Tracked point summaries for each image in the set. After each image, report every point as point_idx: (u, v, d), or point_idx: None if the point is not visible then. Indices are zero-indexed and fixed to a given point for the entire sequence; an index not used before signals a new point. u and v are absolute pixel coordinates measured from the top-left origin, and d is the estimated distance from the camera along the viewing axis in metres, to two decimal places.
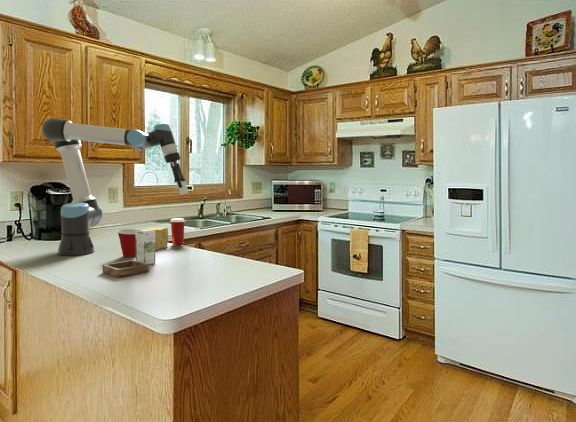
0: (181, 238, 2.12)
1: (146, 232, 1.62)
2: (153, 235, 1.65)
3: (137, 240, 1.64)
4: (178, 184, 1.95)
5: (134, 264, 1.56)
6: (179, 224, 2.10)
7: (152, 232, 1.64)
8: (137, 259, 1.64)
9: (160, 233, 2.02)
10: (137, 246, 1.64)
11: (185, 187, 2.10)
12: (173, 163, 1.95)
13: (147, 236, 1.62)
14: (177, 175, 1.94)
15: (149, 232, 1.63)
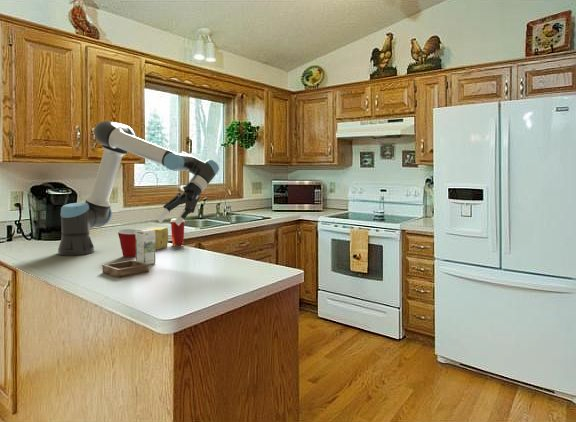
0: (181, 238, 2.12)
1: (146, 232, 1.62)
2: (153, 235, 1.65)
3: (137, 240, 1.64)
4: (185, 214, 1.70)
5: (134, 264, 1.56)
6: None
7: (152, 232, 1.64)
8: (137, 259, 1.64)
9: (160, 233, 2.02)
10: (137, 246, 1.64)
11: (164, 217, 1.79)
12: (198, 197, 1.76)
13: (146, 236, 1.62)
14: (193, 208, 1.71)
15: (149, 232, 1.63)
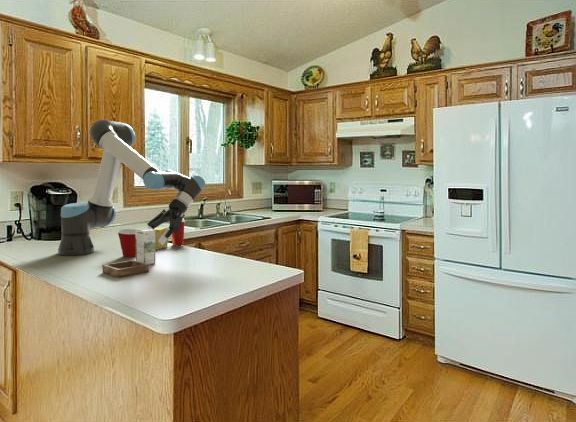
0: (181, 238, 2.12)
1: (146, 232, 1.62)
2: (153, 235, 1.65)
3: (137, 240, 1.64)
4: (169, 233, 1.63)
5: (134, 264, 1.56)
6: None
7: (152, 232, 1.64)
8: (137, 259, 1.64)
9: (160, 233, 2.02)
10: (137, 246, 1.64)
11: None
12: (183, 214, 1.70)
13: (147, 236, 1.62)
14: (178, 227, 1.65)
15: (149, 232, 1.63)
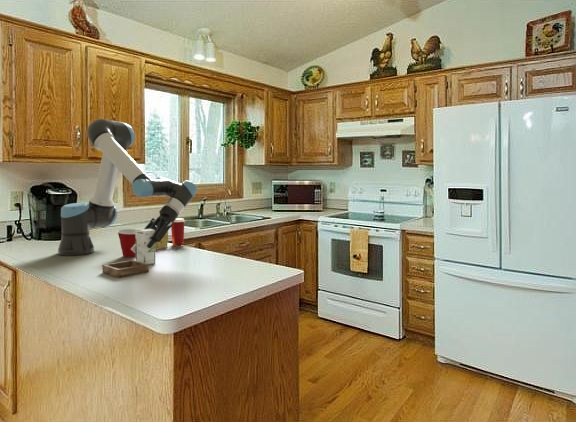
0: (181, 238, 2.12)
1: (146, 232, 1.62)
2: None
3: (137, 240, 1.64)
4: (151, 243, 1.62)
5: (134, 264, 1.56)
6: (179, 224, 2.10)
7: (152, 232, 1.64)
8: (137, 259, 1.64)
9: None
10: (137, 246, 1.64)
11: None
12: (170, 224, 1.67)
13: (146, 236, 1.62)
14: (161, 237, 1.63)
15: (149, 232, 1.63)
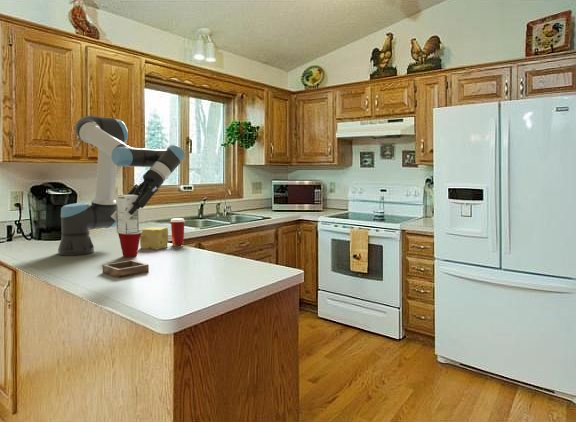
0: (181, 238, 2.12)
1: (128, 197, 1.47)
2: None
3: (118, 206, 1.48)
4: (133, 209, 1.47)
5: (134, 264, 1.56)
6: (179, 224, 2.10)
7: (135, 197, 1.49)
8: (118, 227, 1.49)
9: (160, 233, 2.02)
10: (118, 213, 1.49)
11: None
12: (155, 189, 1.51)
13: (128, 202, 1.47)
14: (144, 203, 1.48)
15: (132, 197, 1.48)
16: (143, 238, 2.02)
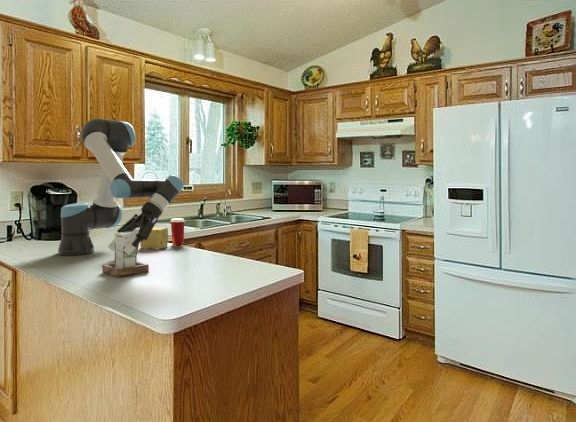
0: (181, 238, 2.12)
1: (126, 235, 1.47)
2: None
3: (116, 244, 1.48)
4: (136, 241, 1.46)
5: None
6: (179, 224, 2.10)
7: (133, 235, 1.49)
8: (116, 265, 1.49)
9: (160, 233, 2.02)
10: (116, 251, 1.49)
11: None
12: (155, 220, 1.52)
13: (126, 240, 1.47)
14: (147, 234, 1.47)
15: (130, 235, 1.48)
16: None
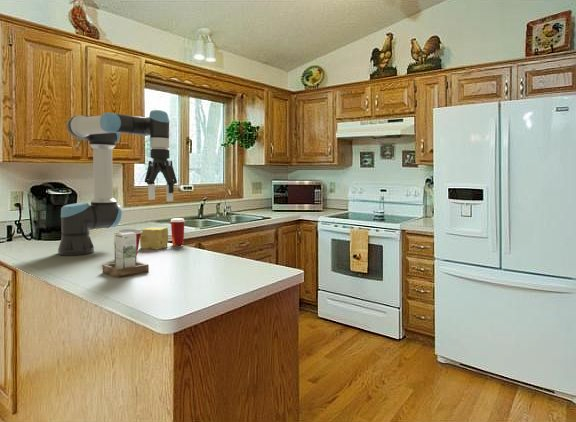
0: (181, 238, 2.12)
1: (125, 235, 1.47)
2: (134, 239, 1.50)
3: (116, 244, 1.49)
4: (170, 188, 1.60)
5: None
6: (179, 224, 2.10)
7: (132, 235, 1.49)
8: (116, 265, 1.49)
9: (160, 233, 2.02)
10: (116, 251, 1.49)
11: (153, 192, 1.70)
12: (170, 162, 1.60)
13: (126, 240, 1.47)
14: (174, 178, 1.59)
15: (129, 235, 1.48)
16: (143, 238, 2.02)
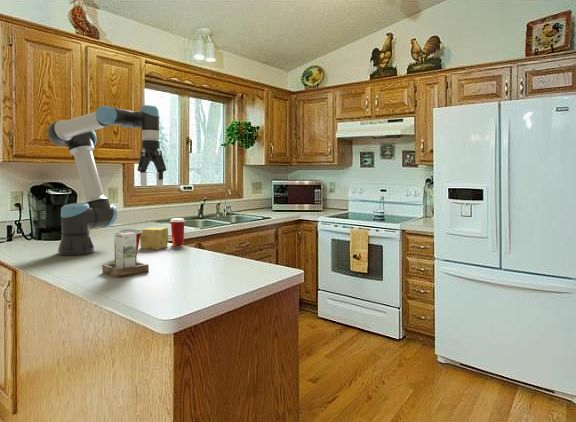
0: (181, 238, 2.12)
1: (125, 235, 1.47)
2: (134, 239, 1.50)
3: (116, 244, 1.49)
4: (160, 175, 1.77)
5: None
6: (179, 224, 2.10)
7: (132, 235, 1.49)
8: (116, 265, 1.49)
9: (160, 233, 2.02)
10: (116, 251, 1.49)
11: (145, 179, 1.88)
12: (160, 152, 1.78)
13: (126, 240, 1.47)
14: (164, 166, 1.77)
15: (129, 235, 1.48)
16: (143, 238, 2.02)
